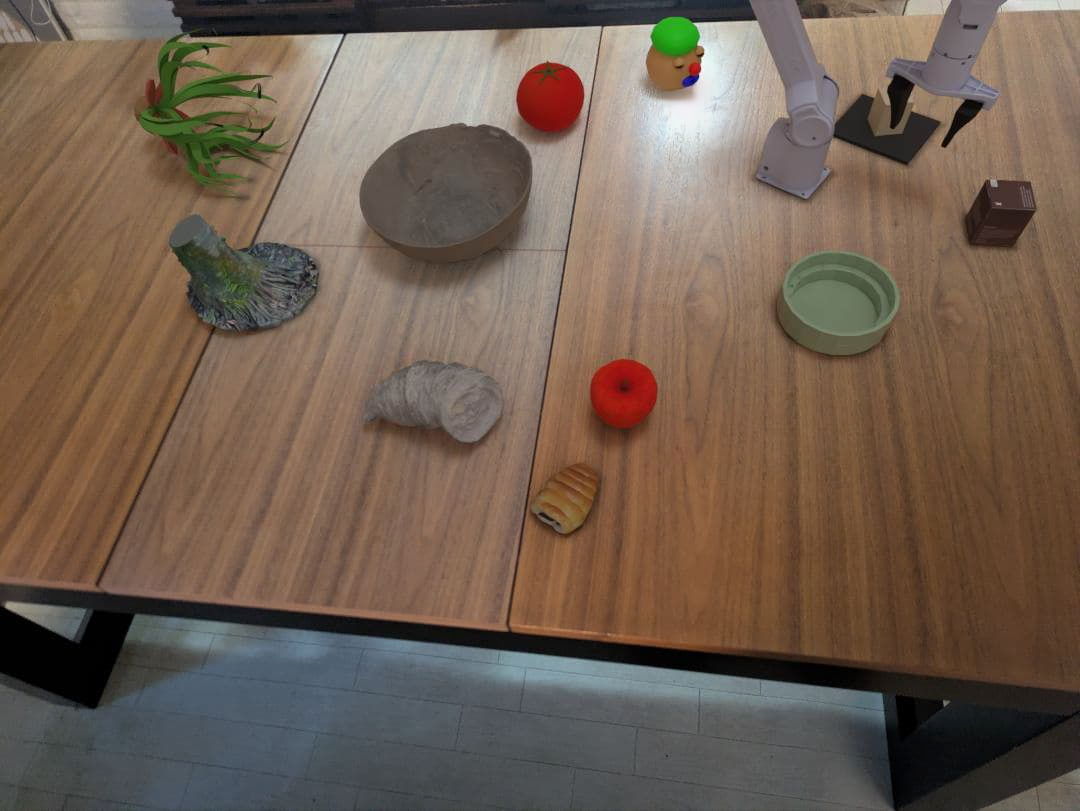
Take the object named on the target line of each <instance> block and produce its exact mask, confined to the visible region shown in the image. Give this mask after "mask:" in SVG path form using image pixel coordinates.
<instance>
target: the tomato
mask: <svg viewBox="0 0 1080 811" xmlns="http://www.w3.org/2000/svg"><path fill="white" fill-rule="evenodd" d="M515 102H516V107H517V111H518V113H519V115H520V117H521V119H522V120H523V122H525V123H526V124H527V125H529V126H530V127H533V128H534V129H536V130H538V131H541V132H545V133H556V132H561V131H563V130H566V129H568V128H570V127H571V126H572V125H573V124H574V123H575V122H576V120H577V119H578V118H579V116H580V113H581V111H582V109H583V107H584V102H585V88H584V83H583V82H582V79H581V78H580V76H579V75H578V73H577V72H576V71H575V70H574V69H573V68H571V67H570V65H569V66H568V65H565V64H562V63H559V62H549V60H548V59H547V60H546V62H542V63H539V64H537V65H535V66H533V67H532V68H530V69H529V70H528V71H526V73H525V74H524V76H522V78H521V80H520V82H519V84H518V86H517V90H516V97H515Z"/></svg>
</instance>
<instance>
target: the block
mask: <svg viewBox="0 0 1080 811" xmlns="http://www.w3.org/2000/svg"><path fill="white" fill-rule="evenodd" d="M887 88H888V86H883V87H882V86H881V87H878V88H877V90H876V93H875V96H874V98H875V99H874V101H873V104H872V107H871V110H870V113H869V116H868V122H869V124H870V126H871V129H872V131H873V134H874V136H882V135H892V134H902V132H903V130H904V128H905V125H906V123H907V120H908V118H909V115H910V113H911V111H913V108H914V105H915V100H914V97H913V96H912V94H911V95H910V97H909V99H908V102H907V105H906V108H905V111H904V114H903V117H902V119H901V121H900V123H899V124H898V125H897V126H896V128H895V129H891V128H890V122H891V106H890V100H889V97H888V94H887Z"/></svg>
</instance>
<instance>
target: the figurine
mask: <svg viewBox="0 0 1080 811" xmlns="http://www.w3.org/2000/svg"><path fill="white" fill-rule="evenodd" d="M652 28H653V29H652V31H651V33H650V37H649V38H650V41H651V45H650V47H649V50H648V51H647V54H646V58H645V66H646V72H647V75H648V78H649V79H650V81H651V82H652V83H653V84H654V86H656V88H657V89H660V90H662V91H669V92H675V91H679V90H683V89H686V88H689V87H693V86H694V85H695V84H697V82H698V81H699V79H700V74H701V71H702V66H701V64H702V58H703V57H704V55H705V51H706V49H705V48H704V46H702V45H698V44H699V41H700V39H701V35H700V32H699V29H698V27H697V25H696V24H694V22H692V21H691V20H690V19H689V18H686V17H683V16H669V17H665V18H663V19H661V20H660V21H659V22H658V23H656V24H655V25H654V26H653V27H652Z"/></svg>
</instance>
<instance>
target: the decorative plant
mask: <svg viewBox="0 0 1080 811" xmlns="http://www.w3.org/2000/svg"><path fill="white" fill-rule="evenodd" d="M206 29H208V28H203V30H206ZM201 30H202V28H198V29H194V30H191V31H187V32H183V33H180V34H177V35H174V36H173V37H172V38H170V39H169V40H167V41H166V42H165V43H164V45H163V46H162V47H161V48H160V50H159V52H158V56H157V71H158V78H159V82H158V85H157V86H156V82H155V79H148V80H147V82H146V86H145V94H144V95H141V96H139V97H137V99H136V102H135V105H134V108H133V112H134V113H133V114H134V117H135V120H136V121H137V122H139V125H140V127H141V128H142V129H143V130H145V131H146V132H147V133H149V134H151V135H153V136H155V137H157V138H160V139H162V140H163V142H164V144H165V146H166V148H167V150H168V152H170V153H171V154H173V155H178V152H179V147H180V148H182V149H183V150H184V153H185V157H186V158H188V160H186V169H187V171H188V172H189V173H190V175H191V176H192V177H193V178H194V179H195V180H196V181H197V182H198V183H200V184H201V185H202V186H204V187H207V188H209V189H212V190H216V191H223V192H227V193H230V194H232V195H235V196H237V197H239V195H238V194H237V193H235V192H233V191H230V190H227V189H223V188H218V187H214V186H212V185H209V184H207V183H210V184H221V185H227V186H231V187H234V188H236V187H237V185H234V184H231V183H229V182H226V181H223V180H220V179H228V180H230V179H240V180H249V181H252V178H247V177H244V176H241V175H238V174H234V173H226V172H218V171H217V170H215V169H214V166H213V164H214V165H216V166H219V165H220V163H221V161H237V160H238V161H240V158H241V157H242V155H223V156H219V157H218V158H213V155H212V154H211V152H212V151H214V150H217V149H219V148H220V150H221V151H223V149H224V148H223V147H226V145H228V146H229V148H231V149H233V150H235V151H237V152H239V153H240V154H243V155H244V156H246V157H250V158H253V159H256V160H261V158H260V157H256V156H254V155H252V154H250V153H248V152H246V151H245V150H248V149H249V148H252V149H256V150H260V151H275V150H279V149H281V148H282V147H285V145H286V144H289V142H290V139H287V141H285V142H284V143H282V144H279V145H269V144H266V143H265V144H264V143H261V142H259V141H260V140H261V139H262V138H263V137H264V134H265V133H266V132H268V131H269V130H271V128H272V127H273V125H274V123H275V121H276V118H277V117H276V115H274V116H273V119H272V120H271V121H270V122H269V124H267V126H265V127H262V128H251V127H252V126H253V123H252V121H251V118H250V117H249V116H248V124H249V127H246V126H241V125H236V124H220V123H216V122H208V121H210V120H213V119H216V118H218V117H221V116H223V117H224V116H235V115H244V114H245V112H238V111H237V112H235V111H227V110H226V111H224V110H223V111H222V110H221V111H212V112H207V113H203V114H199V115H195V116H192V117H190V116H189V115H188V114H187V113H185V112H183V111H182V110H180V109H178V108H176V107H179V106H180V105H181V104H184V103H185V102H188V101H191V100H196V99H204V98H205V99H207V98H208V99H209V98H213V99H214V98H216V99H217V98H218V99H229V100H232V98H231V97H242V98H243V97H244V98H254V99H258V100H261V99H263V100H268V101H271V102H275V103H276V104H277V103H278V101H276V100H275V99H274V98H272V97H270V96H268V95H266V94H264V93H262V85H261V83H260V82H256V84H255V85H253V87H252V88H251V90H247V89H242V88H240V87H239V86H237V85H235V84H226V83H234V82H243V81H253V80H258V79H263V78H271V80H273V78H274V76H273V75H269V74H252V73H251V71H250V70H245V71H240V72H234V73H225V72H224V71H223V70H221V69H220V68H218V67H216V66H213V65H211V64H210V63H209V64H208V63H206V62H202V61H199V59H202V58H204V56H203V57H200V58H197V59H193V60H187V61H183V60H184V59H185V58H186V57H187V56H189V55H190V54H193V53H196V52H199V51H203V50H205V51H206V54H205V57H207V56H209V54H210V49H216V48H231V49H234V48H233V47H232V46H230V45H227V44H223V43H218V42H208V41H207V42H205V41H204V42H203V41H199V42H197V41H196V42H189V43H187V42H185V41H179V40H180V39H181V38H183V37H186V36H187V35H190V34H192V33H195V32H198V31H201ZM212 30H213V31H214V33H215V34H216V35H217V37H219V36H218V34H217V32H216V30H215V28H212ZM174 50H175V52H173V54H172V57H171V60H169V58H170V53H171V51H174ZM185 67H186V68H190V69H193V70H195V71H197V72H198V73H200V72H199V70H197V69H196V68H194V67H197V68H203V69H208V70H212V71H215V72H218V73H219V74H218V75H213V76H208V77H206V76H207V74H206V75H203V74H201V77H203V78H199V79H197V80H194V81H191V82H189V83H186V84H185V85H183V86H182V87H180V88H179V89H178V90H177V91H176V82H177V76H178V72H179V70H180V69H181V68H185ZM246 72H249V74H243V73H246ZM204 77H205V78H204ZM256 89H257V92H255V90H256ZM175 91H176V92H175ZM236 101H237V102H240V103H243V104H245V105H246V106H248V107H250V108H251V109H253V111H254V112H255V114H258V109H256V108H255V107H254V106H252V105H251V104H250V103H246V102H244V101H241V100H237V99H236ZM218 104H219V106H220V105H221V101H218V103H217V105H218ZM214 105H216V103H209V104H204V105H202V106H200V108H202V107H205V106H214ZM194 111H195V109H194V110H192V112H194ZM207 126H213V127H212V128H210V129H209V130H207V131H205V132H196V131H195V130H194V128H196V127H207ZM228 132H235V133H244V132H249V133H254V134H259V136H257V138H255V139H254V140H253V139H251V138H249V137H246V136H243V135H239V134H230V133H228ZM178 146H179V147H178ZM238 157H240V158H238ZM269 159H273V157H272V156H269V157H267V158H265V160H269ZM199 163H202V164H204V166H205V169H206V171H207V173H208V175H209V176H210V177H208V176H204V175H202V174H200V167H199Z"/></svg>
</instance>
